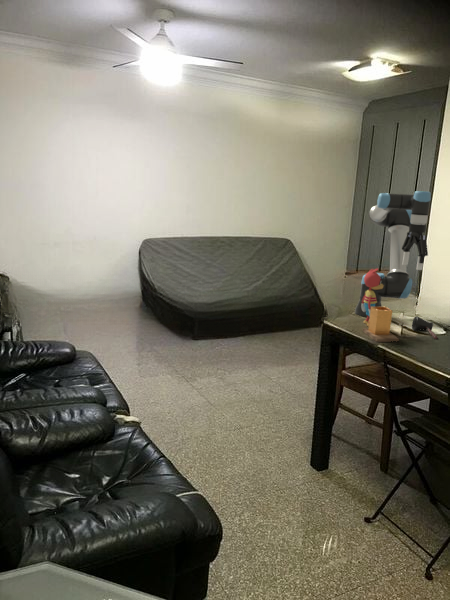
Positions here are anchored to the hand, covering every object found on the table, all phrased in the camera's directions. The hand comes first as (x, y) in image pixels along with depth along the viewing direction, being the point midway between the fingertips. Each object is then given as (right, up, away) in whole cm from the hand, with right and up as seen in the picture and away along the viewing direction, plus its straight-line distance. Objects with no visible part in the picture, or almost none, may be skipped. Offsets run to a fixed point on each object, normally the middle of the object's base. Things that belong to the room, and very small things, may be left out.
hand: (411, 267), depth 239 cm
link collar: (-18, -32, -4) cm, 37 cm away
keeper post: (-17, -34, -5) cm, 38 cm away
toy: (-17, -29, +14) cm, 37 cm away
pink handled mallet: (+8, -33, +4) cm, 35 cm away
